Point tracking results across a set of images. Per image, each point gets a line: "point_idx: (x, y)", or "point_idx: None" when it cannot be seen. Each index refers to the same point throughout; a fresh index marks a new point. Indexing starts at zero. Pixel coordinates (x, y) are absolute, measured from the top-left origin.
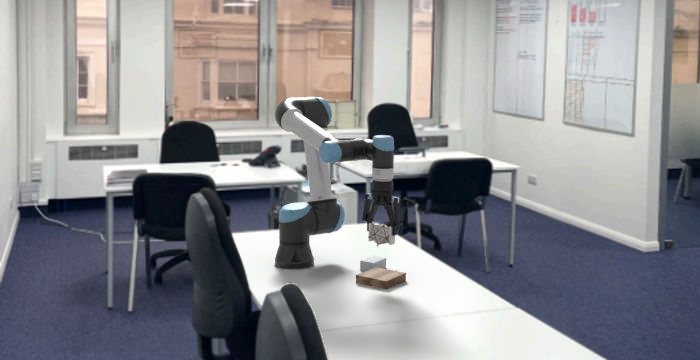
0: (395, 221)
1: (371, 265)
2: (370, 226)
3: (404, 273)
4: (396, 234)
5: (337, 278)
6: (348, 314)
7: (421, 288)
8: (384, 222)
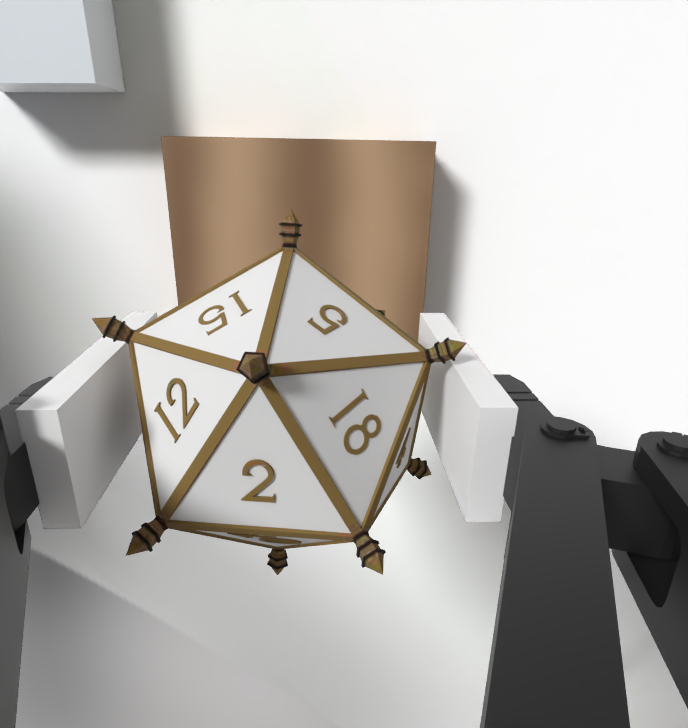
0: (634, 594)
1: (84, 85)
2: (100, 497)
3: (432, 160)
4: (515, 383)
5: (50, 355)
6: (441, 692)
7: (575, 227)
8: (254, 382)
